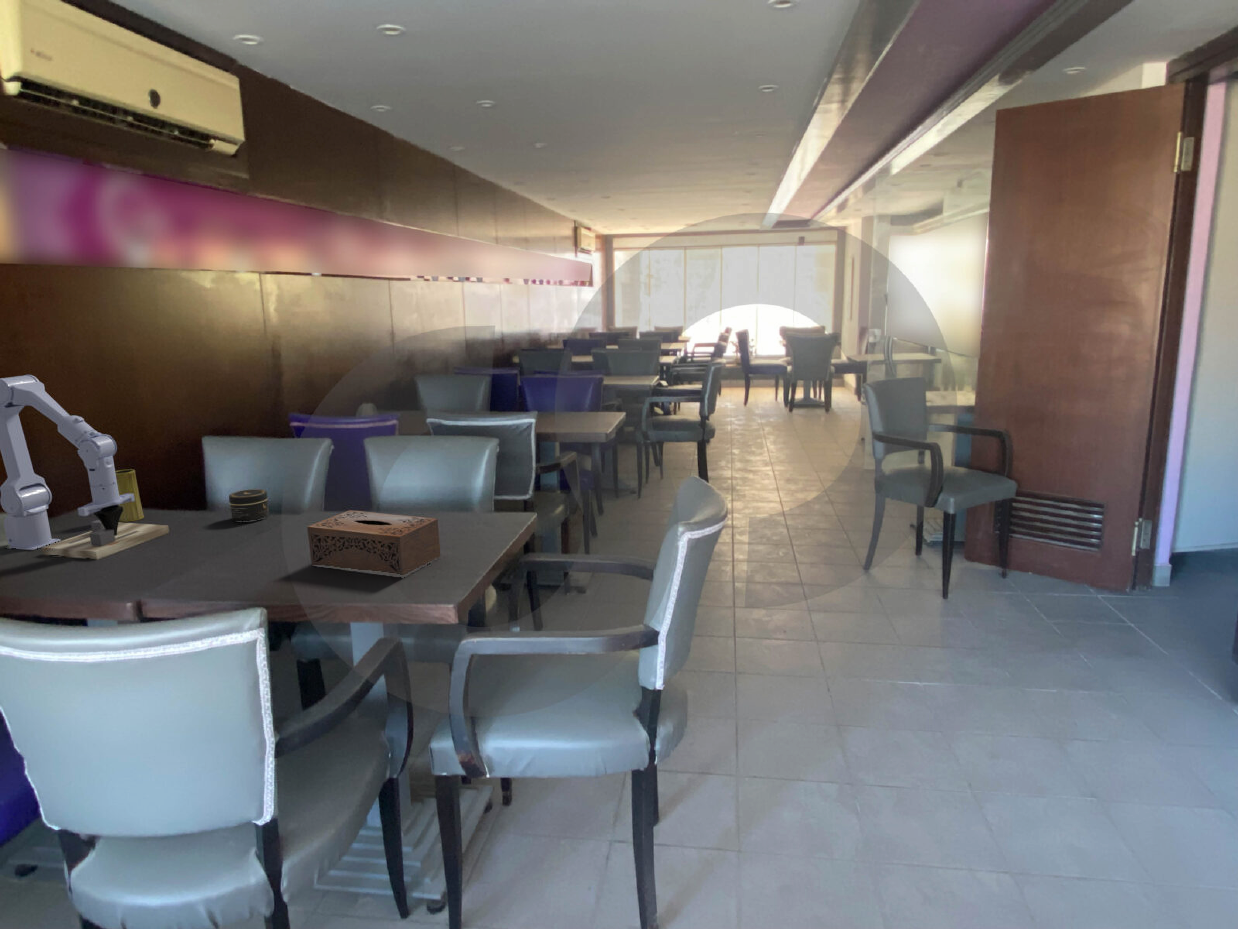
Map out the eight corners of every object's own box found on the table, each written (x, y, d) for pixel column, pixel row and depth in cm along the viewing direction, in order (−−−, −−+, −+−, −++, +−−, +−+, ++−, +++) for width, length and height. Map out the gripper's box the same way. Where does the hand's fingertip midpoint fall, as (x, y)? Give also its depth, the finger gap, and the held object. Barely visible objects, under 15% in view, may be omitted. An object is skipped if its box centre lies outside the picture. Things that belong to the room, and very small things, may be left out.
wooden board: (43, 555, 196) (41, 547, 195) (119, 529, 217) (117, 522, 216) (97, 559, 192) (95, 551, 191) (169, 532, 212) (168, 525, 212)
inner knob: (92, 533, 206) (90, 522, 206) (105, 528, 210) (103, 518, 209) (102, 533, 205) (100, 522, 205) (115, 529, 209) (113, 518, 208)
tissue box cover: (440, 559, 187) (437, 518, 184) (403, 579, 173) (399, 536, 171) (353, 548, 196) (349, 510, 194) (312, 567, 183) (307, 526, 181)
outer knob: (91, 545, 196) (89, 533, 195) (105, 540, 200) (103, 528, 199) (101, 545, 195) (99, 534, 195) (115, 540, 199) (113, 529, 198)
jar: (256, 524, 218) (253, 497, 217) (223, 523, 220) (220, 497, 218) (277, 514, 228) (274, 488, 226) (245, 513, 230) (242, 488, 228)
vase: (132, 522, 223) (124, 473, 220) (114, 521, 224) (106, 473, 221) (149, 516, 229) (141, 469, 226) (131, 515, 230) (123, 468, 227)
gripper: (90, 491, 189) (99, 545, 192) (140, 477, 203) (148, 527, 206) (67, 490, 191) (77, 543, 194) (118, 476, 205) (127, 526, 208)
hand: (112, 535), depth 200 cm, fingers closed
